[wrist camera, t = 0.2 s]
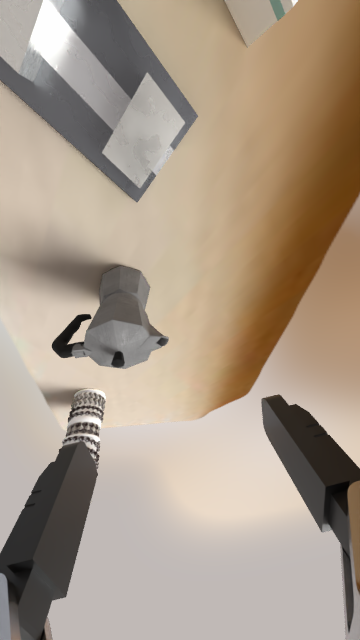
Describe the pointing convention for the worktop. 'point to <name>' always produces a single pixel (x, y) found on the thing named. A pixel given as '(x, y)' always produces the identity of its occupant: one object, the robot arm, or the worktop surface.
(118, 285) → the coffeepot
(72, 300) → the worktop surface
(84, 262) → the worktop surface
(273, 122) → the worktop surface
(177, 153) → the worktop surface
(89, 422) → the black and white cylinder
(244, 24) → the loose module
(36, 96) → the rail panel
